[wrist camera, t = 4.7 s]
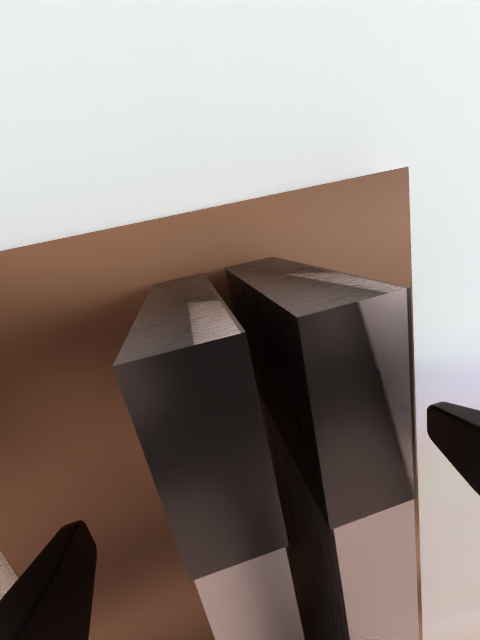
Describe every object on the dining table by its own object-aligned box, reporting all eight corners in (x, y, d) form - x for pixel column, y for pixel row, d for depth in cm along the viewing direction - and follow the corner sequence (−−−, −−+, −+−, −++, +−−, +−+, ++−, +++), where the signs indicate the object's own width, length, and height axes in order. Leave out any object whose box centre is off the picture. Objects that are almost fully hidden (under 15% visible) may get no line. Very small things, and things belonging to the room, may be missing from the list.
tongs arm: (302, 661, 13) (375, 906, 8) (258, 680, 13) (306, 946, 8) (217, 269, 8) (278, 323, 3) (138, 287, 7) (72, 376, 3)
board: (405, 618, 16) (422, 646, 15) (143, 729, 14) (140, 771, 13) (380, 174, 9) (408, 166, 8) (-116, 278, 8) (-167, 286, 7)
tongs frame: (342, 669, 14) (429, 899, 9) (274, 699, 13) (329, 957, 9) (271, 256, 8) (410, 287, 3) (149, 285, 8) (101, 369, 3)
